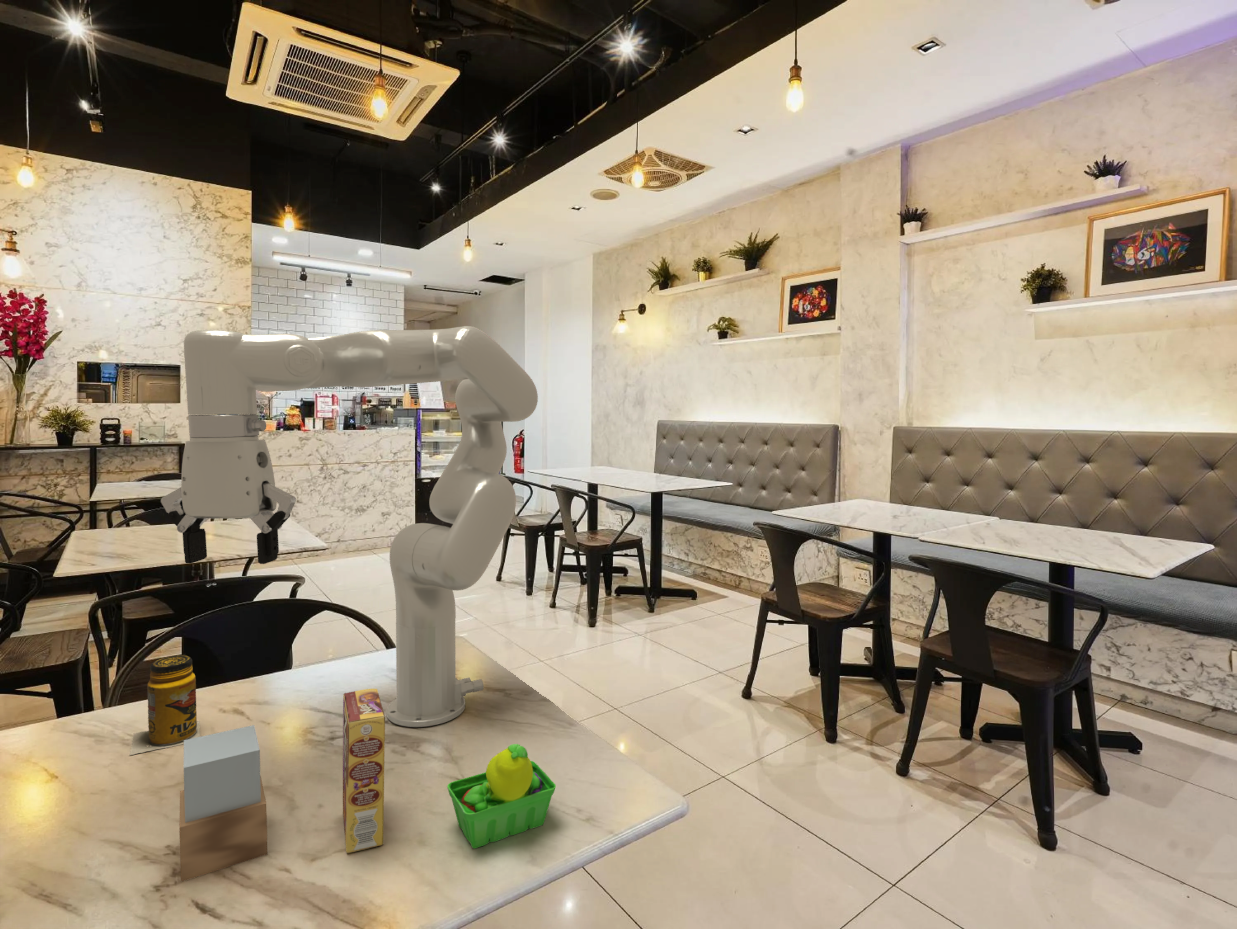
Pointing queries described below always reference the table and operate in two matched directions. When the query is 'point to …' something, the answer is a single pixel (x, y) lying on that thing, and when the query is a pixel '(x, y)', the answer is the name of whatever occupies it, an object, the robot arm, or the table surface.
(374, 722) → the candy box
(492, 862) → the table surface
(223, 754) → the slate block
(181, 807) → the walnut block
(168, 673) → the condiment
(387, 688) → the table surface
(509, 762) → the fruit basket
